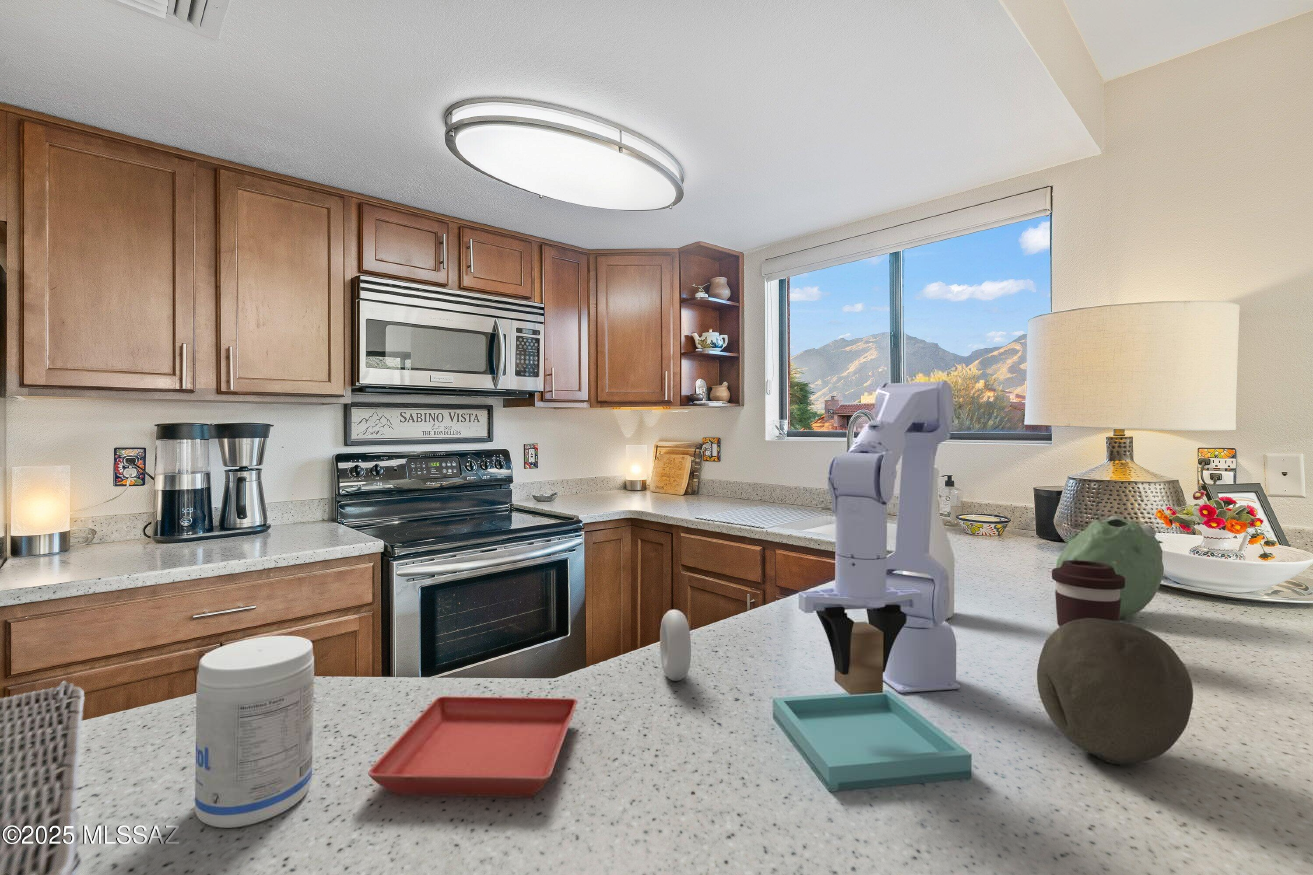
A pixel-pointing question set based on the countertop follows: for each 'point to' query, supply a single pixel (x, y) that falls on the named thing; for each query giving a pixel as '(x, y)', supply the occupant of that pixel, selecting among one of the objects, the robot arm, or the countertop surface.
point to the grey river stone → (1114, 689)
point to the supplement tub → (253, 729)
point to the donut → (675, 645)
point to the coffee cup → (1087, 591)
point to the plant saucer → (477, 747)
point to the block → (863, 661)
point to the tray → (869, 741)
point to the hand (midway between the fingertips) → (859, 670)
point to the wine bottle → (939, 544)
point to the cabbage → (1122, 557)
